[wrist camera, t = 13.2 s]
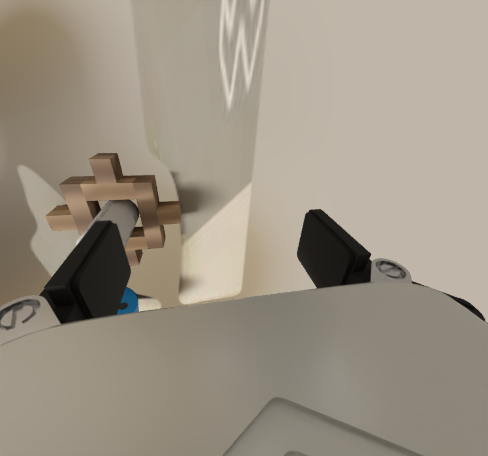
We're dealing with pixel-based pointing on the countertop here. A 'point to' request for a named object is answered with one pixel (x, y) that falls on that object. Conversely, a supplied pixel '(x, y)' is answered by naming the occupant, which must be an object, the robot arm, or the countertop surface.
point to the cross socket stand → (115, 188)
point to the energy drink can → (118, 217)
